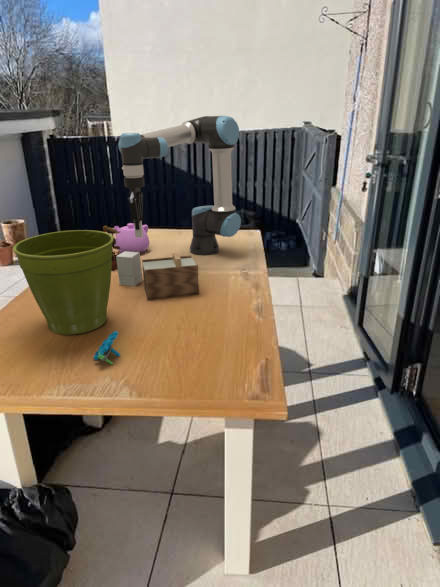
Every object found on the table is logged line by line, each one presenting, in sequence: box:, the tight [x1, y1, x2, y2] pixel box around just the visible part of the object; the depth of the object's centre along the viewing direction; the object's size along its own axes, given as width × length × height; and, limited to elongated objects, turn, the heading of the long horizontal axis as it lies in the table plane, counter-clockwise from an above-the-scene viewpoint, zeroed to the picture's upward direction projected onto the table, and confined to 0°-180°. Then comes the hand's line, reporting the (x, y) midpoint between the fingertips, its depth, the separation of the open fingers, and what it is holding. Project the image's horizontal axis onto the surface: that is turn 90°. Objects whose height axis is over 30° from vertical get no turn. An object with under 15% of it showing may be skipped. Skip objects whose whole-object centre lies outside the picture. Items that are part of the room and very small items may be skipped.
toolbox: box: [141, 255, 200, 301], centre depth 167 cm, size 20×13×12 cm, turn 105°
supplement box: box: [116, 251, 143, 287], centre depth 176 cm, size 7×7×13 cm
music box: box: [102, 225, 120, 272], centre depth 193 cm, size 15×11×20 cm
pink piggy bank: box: [113, 222, 150, 254], centre depth 219 cm, size 20×20×15 cm
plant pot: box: [12, 229, 114, 336], centre depth 138 cm, size 30×30×29 cm
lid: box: [141, 252, 197, 271], centre depth 165 cm, size 20×11×4 cm, turn 105°
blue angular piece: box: [92, 330, 121, 365], centre depth 122 cm, size 11×6×10 cm
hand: (139, 236), depth 170 cm, fingers closed
